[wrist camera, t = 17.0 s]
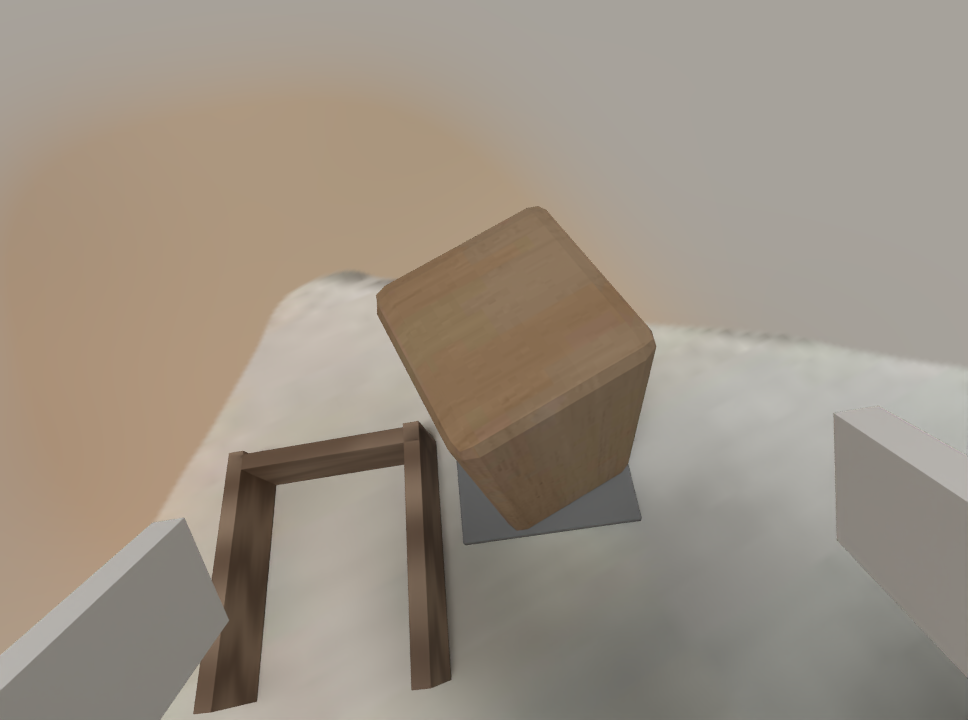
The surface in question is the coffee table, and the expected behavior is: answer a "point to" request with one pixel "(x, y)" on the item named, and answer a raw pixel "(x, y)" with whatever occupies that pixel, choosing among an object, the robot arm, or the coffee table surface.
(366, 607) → the coffee table surface
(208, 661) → the wooden u-shaped frame
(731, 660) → the coffee table surface
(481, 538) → the pad
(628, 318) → the wooden block
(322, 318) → the coffee table surface
